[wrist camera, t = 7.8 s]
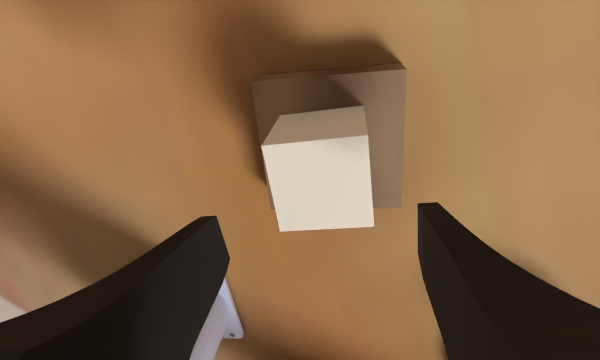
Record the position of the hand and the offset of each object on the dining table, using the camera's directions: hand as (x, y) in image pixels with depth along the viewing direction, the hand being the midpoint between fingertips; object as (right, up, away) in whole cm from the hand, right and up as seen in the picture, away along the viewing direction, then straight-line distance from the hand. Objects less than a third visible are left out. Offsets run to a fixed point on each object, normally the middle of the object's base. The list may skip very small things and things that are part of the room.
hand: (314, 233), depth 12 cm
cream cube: (+1, +4, +7) cm, 8 cm away
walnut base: (+1, +5, +9) cm, 10 cm away
